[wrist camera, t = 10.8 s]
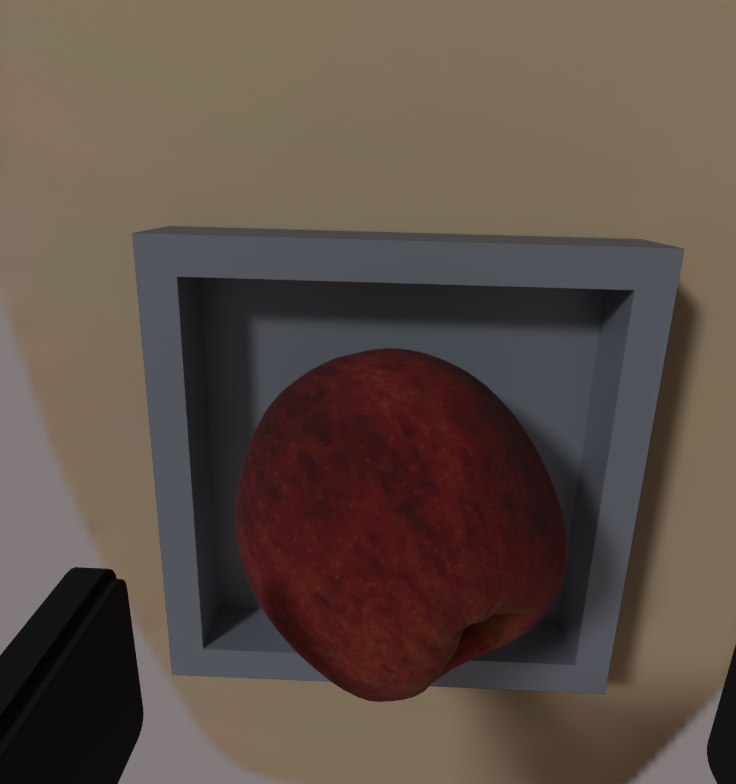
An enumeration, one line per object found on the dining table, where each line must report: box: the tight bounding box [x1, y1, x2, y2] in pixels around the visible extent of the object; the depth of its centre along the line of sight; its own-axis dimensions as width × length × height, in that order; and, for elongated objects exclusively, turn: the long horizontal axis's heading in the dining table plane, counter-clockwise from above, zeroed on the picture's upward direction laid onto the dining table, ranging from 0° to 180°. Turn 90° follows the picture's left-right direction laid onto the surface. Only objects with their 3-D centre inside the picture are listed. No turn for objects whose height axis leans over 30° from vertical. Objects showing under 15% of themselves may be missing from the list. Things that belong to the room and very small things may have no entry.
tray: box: [132, 226, 684, 694], centre depth 18 cm, size 13×13×3 cm
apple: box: [235, 348, 567, 702], centre depth 15 cm, size 7×8×8 cm
